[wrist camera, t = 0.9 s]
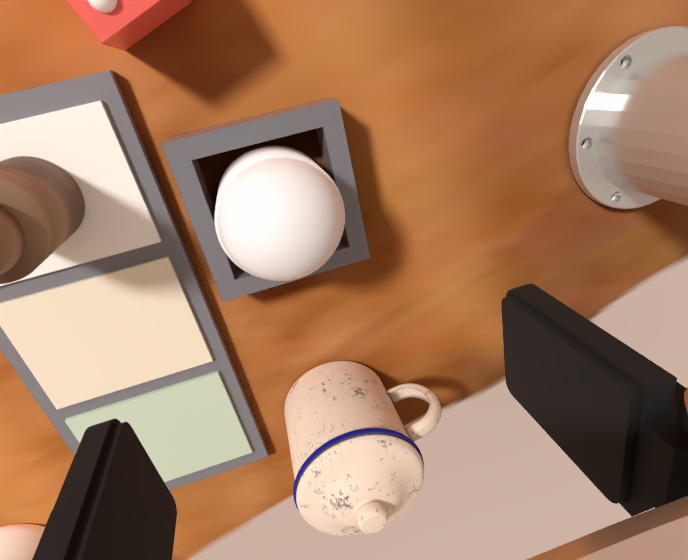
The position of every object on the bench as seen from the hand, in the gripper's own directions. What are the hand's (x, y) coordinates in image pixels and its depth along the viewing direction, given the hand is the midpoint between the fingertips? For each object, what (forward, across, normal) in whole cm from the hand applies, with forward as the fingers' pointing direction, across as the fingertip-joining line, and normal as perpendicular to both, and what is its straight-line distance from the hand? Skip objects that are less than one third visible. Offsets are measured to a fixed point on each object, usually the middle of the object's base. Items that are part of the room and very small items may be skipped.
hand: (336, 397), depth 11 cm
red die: (+21, +4, -13) cm, 25 cm away
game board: (+21, +13, +6) cm, 25 cm away
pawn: (+20, +13, -4) cm, 24 cm away
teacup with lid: (+21, -2, +18) cm, 28 cm away
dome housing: (+21, 0, 0) cm, 21 cm away
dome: (+19, 0, 0) cm, 19 cm away
